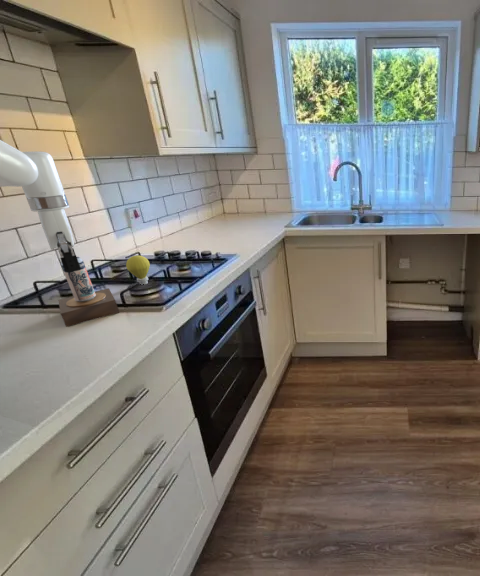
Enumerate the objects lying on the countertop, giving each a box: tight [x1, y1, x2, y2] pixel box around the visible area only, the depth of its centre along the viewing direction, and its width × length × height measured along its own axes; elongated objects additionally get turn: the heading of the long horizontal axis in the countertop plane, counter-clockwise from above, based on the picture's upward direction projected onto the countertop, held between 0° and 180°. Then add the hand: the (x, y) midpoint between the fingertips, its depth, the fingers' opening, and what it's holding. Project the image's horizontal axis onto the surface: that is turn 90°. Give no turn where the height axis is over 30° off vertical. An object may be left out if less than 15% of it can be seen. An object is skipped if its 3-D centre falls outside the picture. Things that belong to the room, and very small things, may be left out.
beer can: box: [60, 256, 96, 302], centre depth 100 cm, size 5×5×12 cm
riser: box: [58, 288, 120, 328], centre depth 103 cm, size 12×12×4 cm
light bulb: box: [125, 254, 151, 286], centre depth 122 cm, size 7×7×10 cm
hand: (72, 266), depth 98 cm, fingers open, 9 cm apart
